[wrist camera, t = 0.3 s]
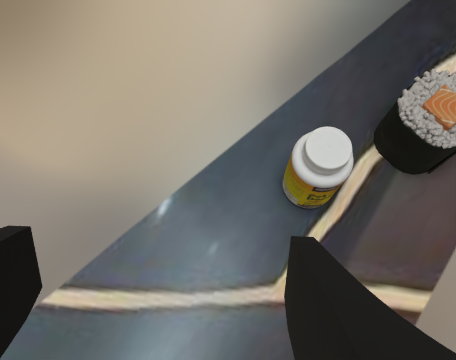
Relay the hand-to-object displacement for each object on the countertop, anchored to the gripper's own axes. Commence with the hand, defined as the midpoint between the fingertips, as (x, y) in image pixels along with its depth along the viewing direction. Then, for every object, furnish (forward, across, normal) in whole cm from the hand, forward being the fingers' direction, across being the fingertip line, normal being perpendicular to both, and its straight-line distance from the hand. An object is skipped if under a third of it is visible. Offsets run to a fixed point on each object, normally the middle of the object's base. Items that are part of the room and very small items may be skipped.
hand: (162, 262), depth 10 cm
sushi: (+33, -22, +6) cm, 40 cm away
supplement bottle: (+29, -10, +10) cm, 33 cm away
